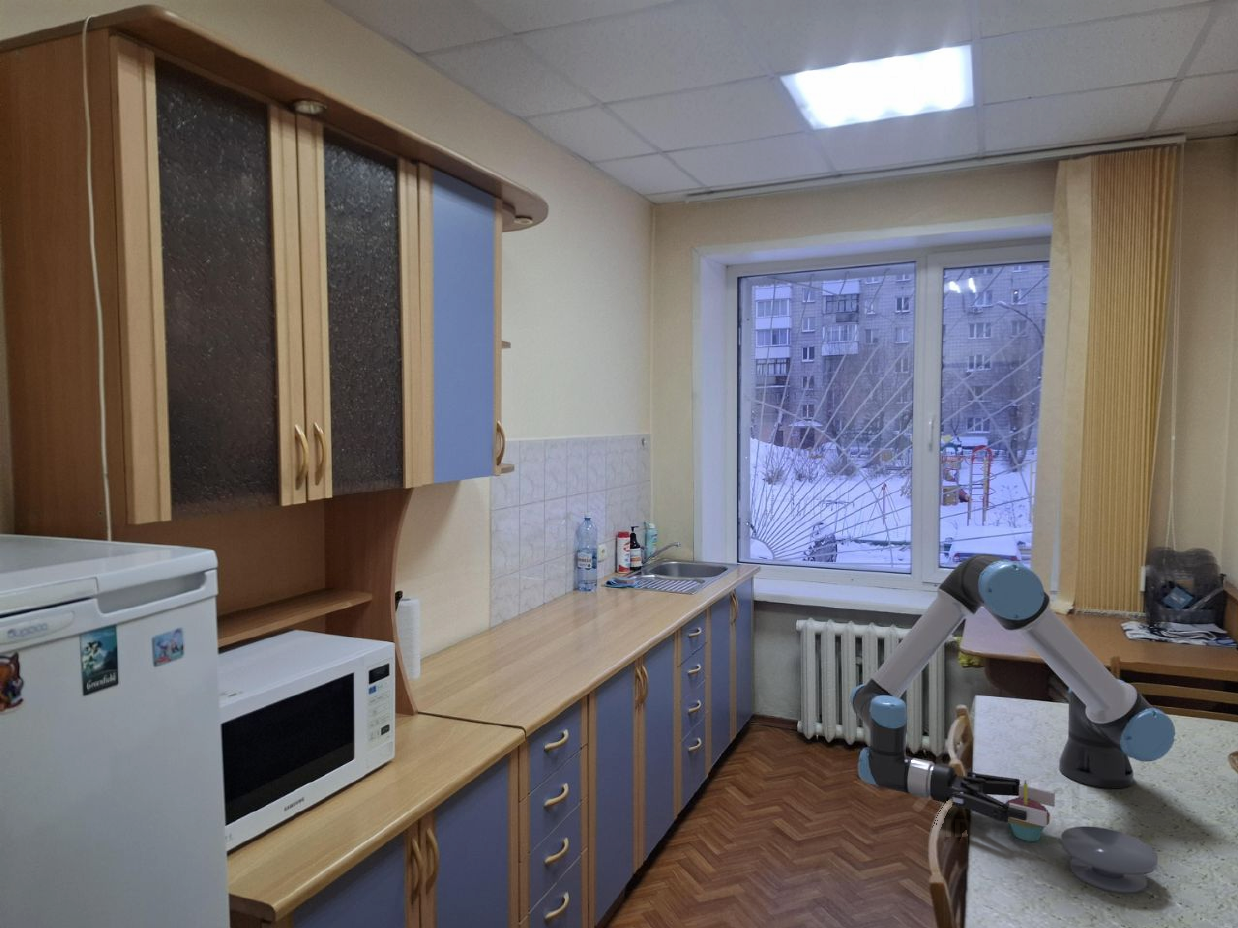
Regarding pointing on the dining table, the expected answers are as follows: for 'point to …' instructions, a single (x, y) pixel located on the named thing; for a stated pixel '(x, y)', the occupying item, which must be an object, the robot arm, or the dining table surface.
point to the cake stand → (1109, 859)
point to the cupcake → (1024, 828)
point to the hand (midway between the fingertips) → (1050, 809)
